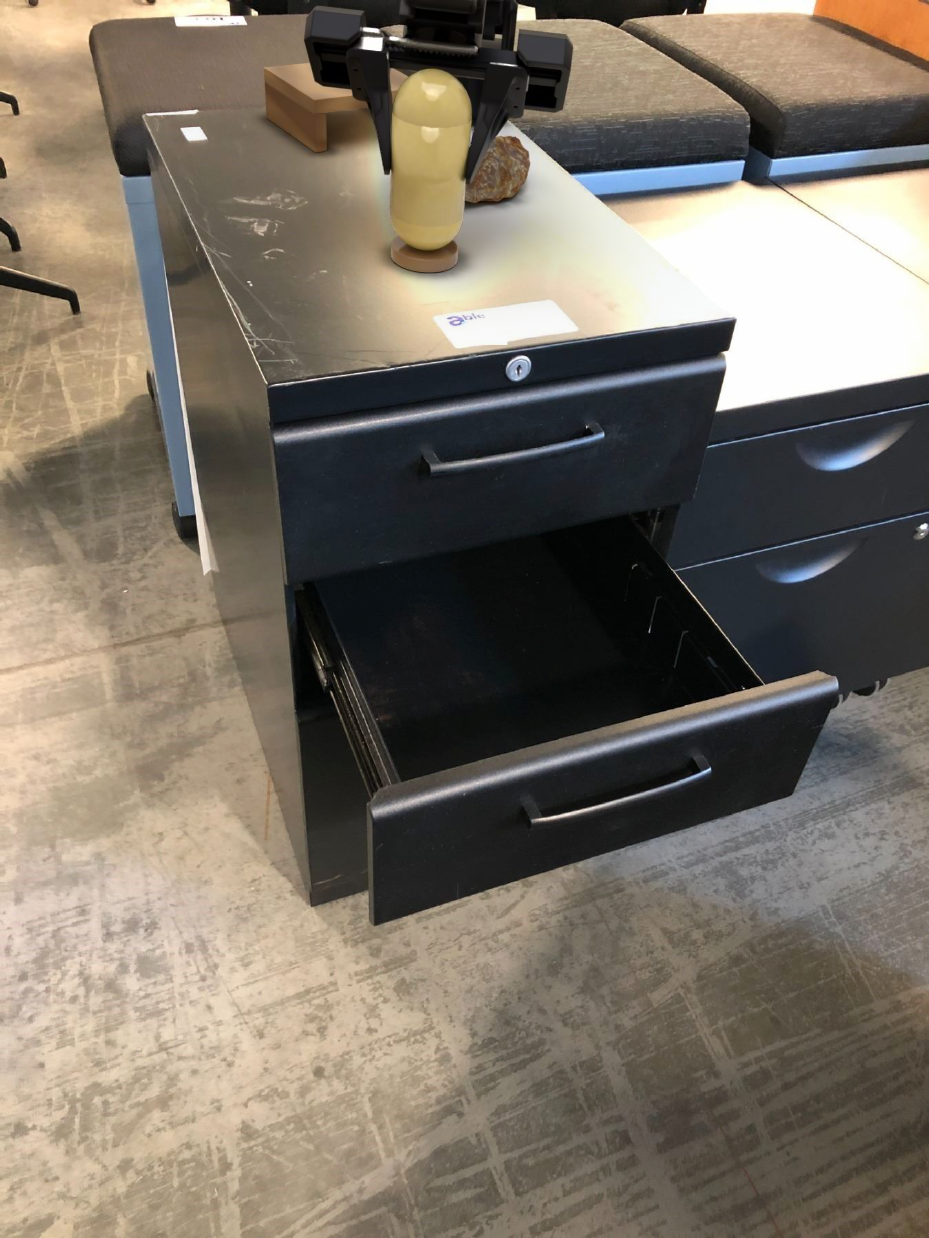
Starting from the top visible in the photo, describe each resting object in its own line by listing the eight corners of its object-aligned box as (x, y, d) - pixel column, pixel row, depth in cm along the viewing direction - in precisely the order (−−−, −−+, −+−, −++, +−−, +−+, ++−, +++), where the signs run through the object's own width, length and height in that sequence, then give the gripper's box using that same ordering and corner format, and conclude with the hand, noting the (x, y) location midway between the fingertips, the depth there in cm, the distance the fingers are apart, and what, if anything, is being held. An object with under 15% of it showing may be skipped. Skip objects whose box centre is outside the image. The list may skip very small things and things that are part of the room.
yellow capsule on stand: (434, 237, 78) (445, 54, 69) (474, 265, 75) (491, 78, 66) (374, 250, 76) (378, 61, 66) (413, 279, 72) (422, 86, 63)
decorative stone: (363, 126, 81) (479, 116, 90) (359, 181, 83) (472, 166, 93) (447, 159, 76) (559, 145, 86) (440, 216, 79) (549, 196, 89)
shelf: (371, 105, 100) (372, 56, 97) (424, 136, 95) (426, 86, 92) (266, 118, 95) (263, 67, 92) (315, 152, 89) (314, 100, 86)
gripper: (304, -140, 62) (276, 101, 62) (594, -107, 62) (568, 134, 62) (328, -23, 73) (304, 182, 73) (574, 6, 73) (551, 210, 73)
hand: (426, 177), depth 70 cm, fingers closed on yellow capsule on stand, 5 cm apart
